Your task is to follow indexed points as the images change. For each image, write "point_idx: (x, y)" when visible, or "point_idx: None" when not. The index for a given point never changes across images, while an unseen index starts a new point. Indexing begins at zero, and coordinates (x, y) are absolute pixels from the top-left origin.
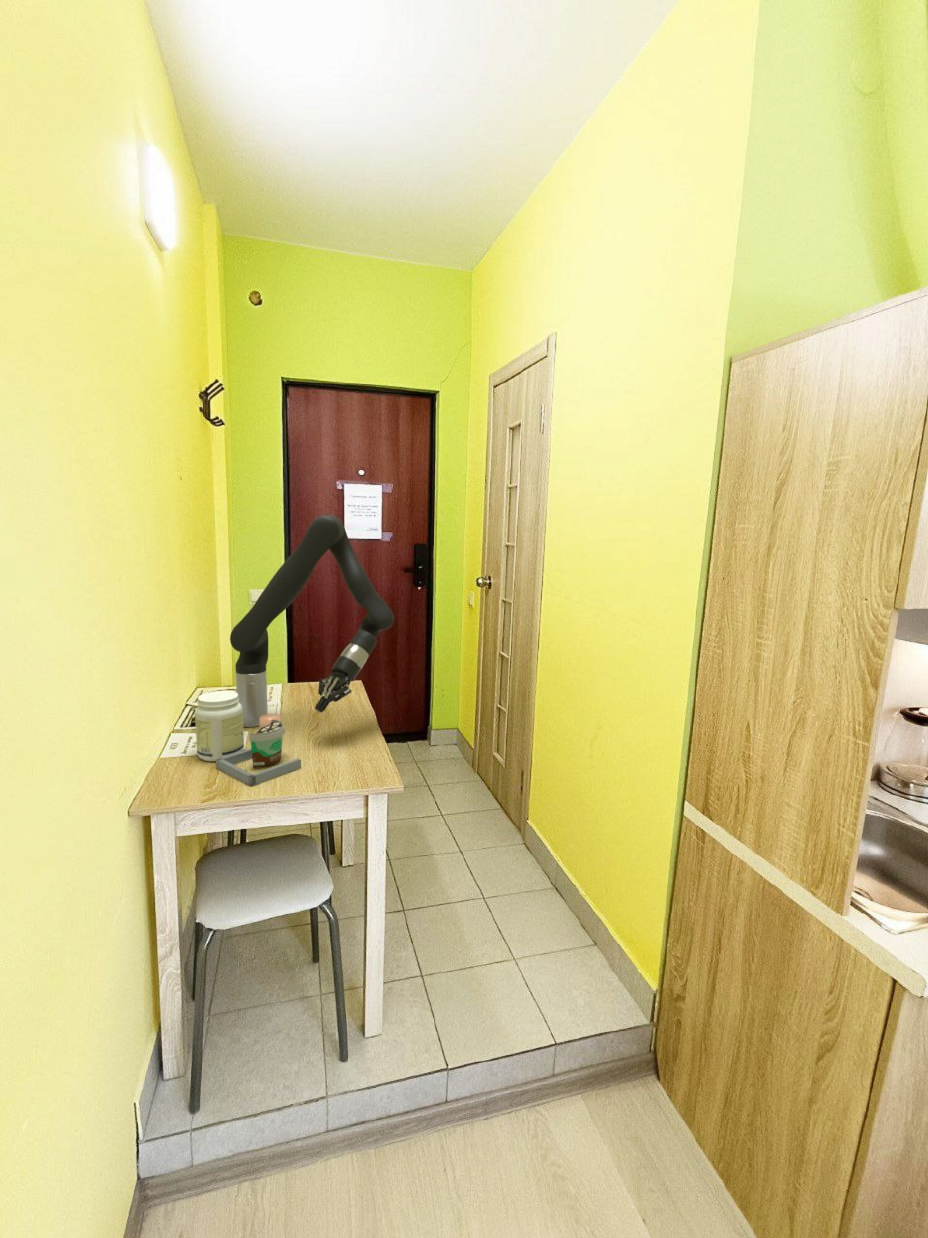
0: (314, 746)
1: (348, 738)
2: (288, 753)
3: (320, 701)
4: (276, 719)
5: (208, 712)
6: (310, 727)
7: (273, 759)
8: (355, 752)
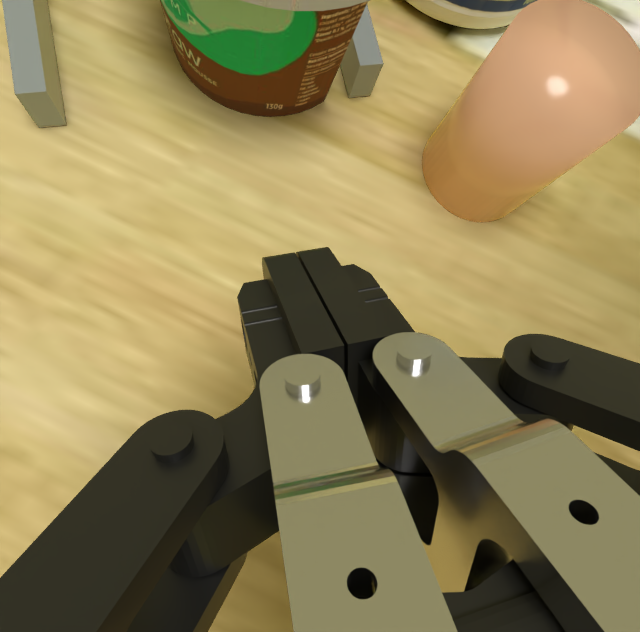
0: None
1: None
2: (281, 171)
3: (330, 301)
4: (507, 73)
5: None
6: (595, 451)
7: (164, 15)
8: (19, 511)
